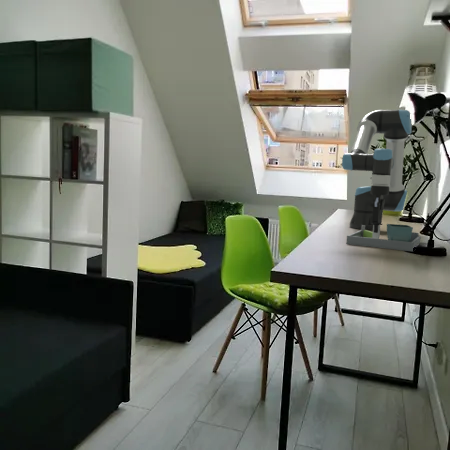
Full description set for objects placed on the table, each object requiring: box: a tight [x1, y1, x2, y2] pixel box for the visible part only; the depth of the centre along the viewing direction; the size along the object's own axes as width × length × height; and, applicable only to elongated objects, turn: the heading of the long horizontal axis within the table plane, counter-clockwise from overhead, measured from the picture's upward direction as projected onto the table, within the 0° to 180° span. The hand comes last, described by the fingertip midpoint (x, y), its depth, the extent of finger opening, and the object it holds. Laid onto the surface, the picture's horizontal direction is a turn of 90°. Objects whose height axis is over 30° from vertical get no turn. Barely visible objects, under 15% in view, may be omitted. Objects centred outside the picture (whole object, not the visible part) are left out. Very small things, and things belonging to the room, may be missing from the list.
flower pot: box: [386, 223, 414, 242], centre depth 201 cm, size 9×9×9 cm
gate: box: [363, 229, 373, 238], centre depth 214 cm, size 2×12×5 cm, turn 11°
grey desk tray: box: [346, 225, 422, 252], centre depth 206 cm, size 24×26×6 cm
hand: (375, 239), depth 205 cm, fingers closed
